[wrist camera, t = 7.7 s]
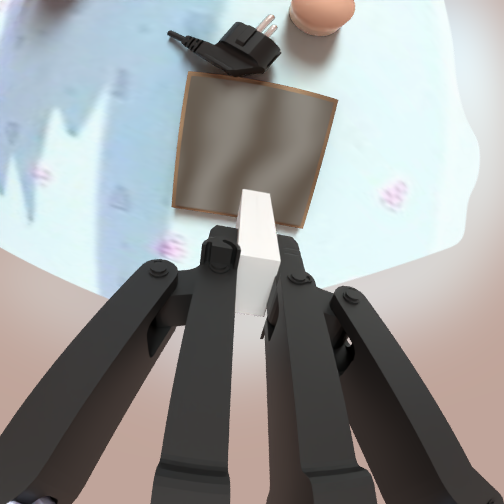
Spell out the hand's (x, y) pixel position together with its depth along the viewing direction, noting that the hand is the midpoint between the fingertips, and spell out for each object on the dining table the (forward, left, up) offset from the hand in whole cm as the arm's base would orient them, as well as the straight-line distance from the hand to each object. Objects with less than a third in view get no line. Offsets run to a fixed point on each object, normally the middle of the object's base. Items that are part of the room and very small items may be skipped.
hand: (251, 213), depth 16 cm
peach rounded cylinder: (+4, +18, -18) cm, 26 cm away
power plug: (-10, +16, -18) cm, 26 cm away
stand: (0, 0, -18) cm, 18 cm away
